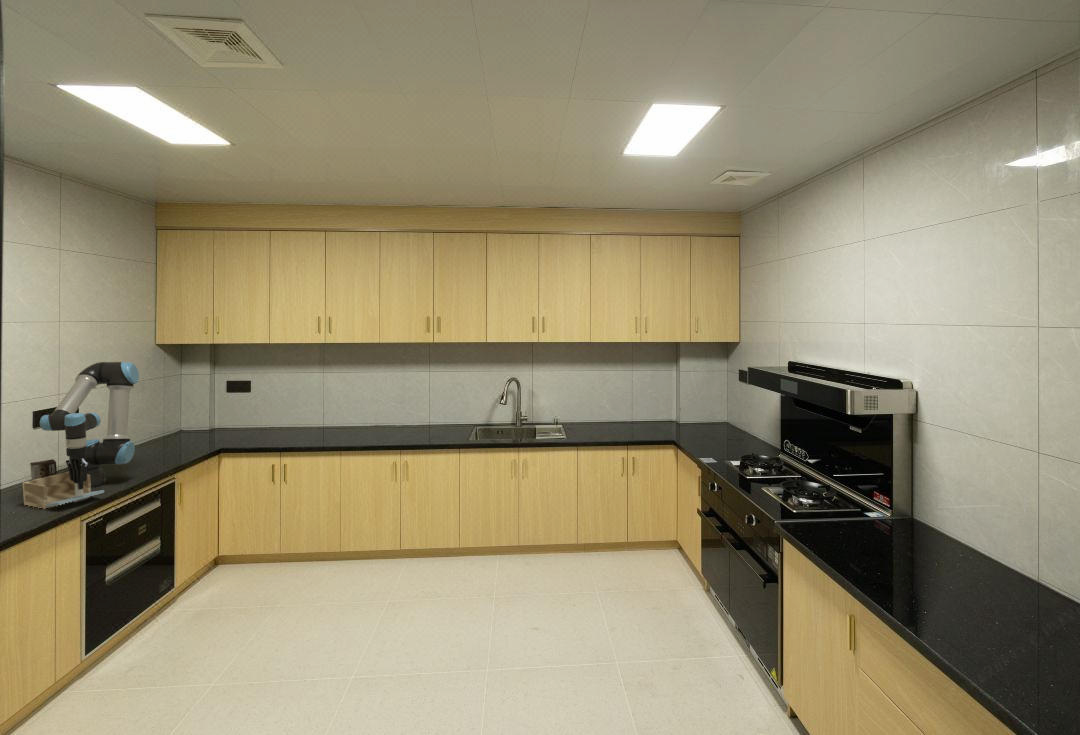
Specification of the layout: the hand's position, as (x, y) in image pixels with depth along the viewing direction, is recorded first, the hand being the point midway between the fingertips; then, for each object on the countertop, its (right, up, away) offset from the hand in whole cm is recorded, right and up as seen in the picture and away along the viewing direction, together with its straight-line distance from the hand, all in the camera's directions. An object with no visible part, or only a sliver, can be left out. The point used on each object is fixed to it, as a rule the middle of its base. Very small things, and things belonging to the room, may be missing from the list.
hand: (79, 495), depth 269 cm
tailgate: (-7, -2, +3) cm, 8 cm away
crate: (-14, -4, +6) cm, 16 cm away
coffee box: (-30, -3, +16) cm, 34 cm away
